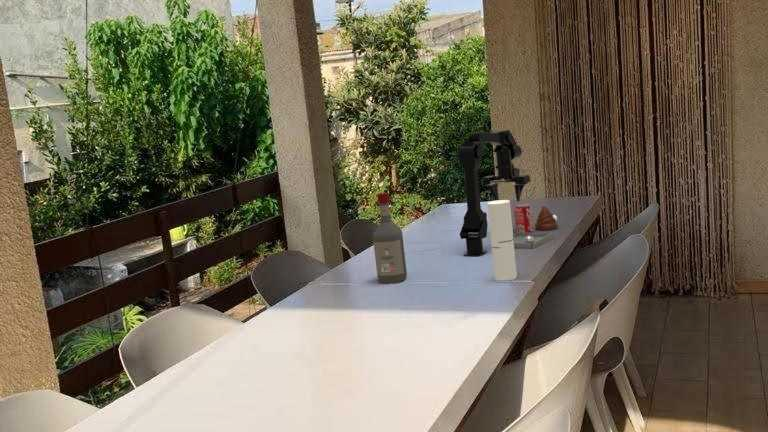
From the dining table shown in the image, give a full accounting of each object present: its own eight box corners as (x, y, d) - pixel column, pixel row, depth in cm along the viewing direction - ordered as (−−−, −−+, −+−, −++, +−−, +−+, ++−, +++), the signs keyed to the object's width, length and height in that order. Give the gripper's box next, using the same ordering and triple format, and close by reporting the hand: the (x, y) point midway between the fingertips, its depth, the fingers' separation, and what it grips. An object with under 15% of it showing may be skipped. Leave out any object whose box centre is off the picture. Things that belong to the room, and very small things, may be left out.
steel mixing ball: (531, 246, 316) (531, 236, 315) (523, 245, 318) (522, 236, 317) (536, 243, 318) (535, 234, 318) (527, 243, 321) (526, 234, 320)
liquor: (403, 282, 286) (393, 194, 281) (377, 284, 288) (366, 196, 283) (408, 275, 294) (398, 190, 290) (382, 277, 296) (372, 192, 292)
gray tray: (532, 248, 314) (532, 243, 313) (494, 247, 323) (494, 242, 323) (553, 238, 328) (553, 233, 328) (516, 237, 337) (516, 232, 337)
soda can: (533, 231, 344) (530, 202, 342) (534, 235, 337) (532, 205, 335) (515, 233, 345) (513, 204, 343) (516, 237, 338) (514, 207, 336)
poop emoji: (530, 229, 351) (528, 206, 349) (548, 225, 354) (546, 203, 353) (545, 232, 342) (543, 209, 340) (562, 228, 345) (560, 205, 344)
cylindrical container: (516, 280, 272) (509, 203, 268) (493, 281, 274) (486, 204, 270) (517, 274, 279) (510, 199, 275) (495, 275, 280) (488, 201, 276)
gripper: (535, 158, 334) (538, 197, 336) (493, 159, 345) (496, 197, 348) (521, 162, 325) (525, 202, 328) (479, 164, 336) (483, 203, 339)
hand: (507, 201), depth 336 cm, fingers open, 9 cm apart
